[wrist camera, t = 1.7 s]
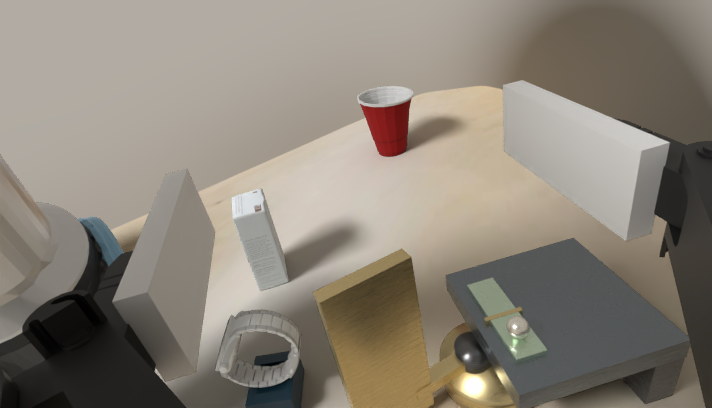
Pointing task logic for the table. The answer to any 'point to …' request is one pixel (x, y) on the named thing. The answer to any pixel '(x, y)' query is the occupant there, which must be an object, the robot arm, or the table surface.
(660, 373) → the levelling stand
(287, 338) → the watch
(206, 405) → the table surface
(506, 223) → the table surface
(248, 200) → the skincare box
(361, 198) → the table surface
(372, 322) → the brass panel with base
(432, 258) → the table surface
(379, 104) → the plastic cup
